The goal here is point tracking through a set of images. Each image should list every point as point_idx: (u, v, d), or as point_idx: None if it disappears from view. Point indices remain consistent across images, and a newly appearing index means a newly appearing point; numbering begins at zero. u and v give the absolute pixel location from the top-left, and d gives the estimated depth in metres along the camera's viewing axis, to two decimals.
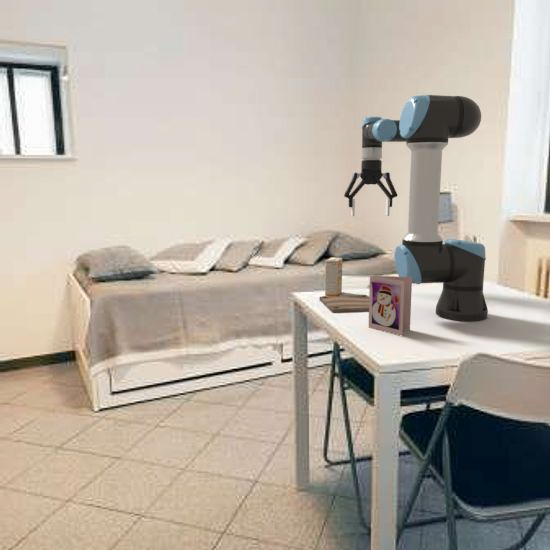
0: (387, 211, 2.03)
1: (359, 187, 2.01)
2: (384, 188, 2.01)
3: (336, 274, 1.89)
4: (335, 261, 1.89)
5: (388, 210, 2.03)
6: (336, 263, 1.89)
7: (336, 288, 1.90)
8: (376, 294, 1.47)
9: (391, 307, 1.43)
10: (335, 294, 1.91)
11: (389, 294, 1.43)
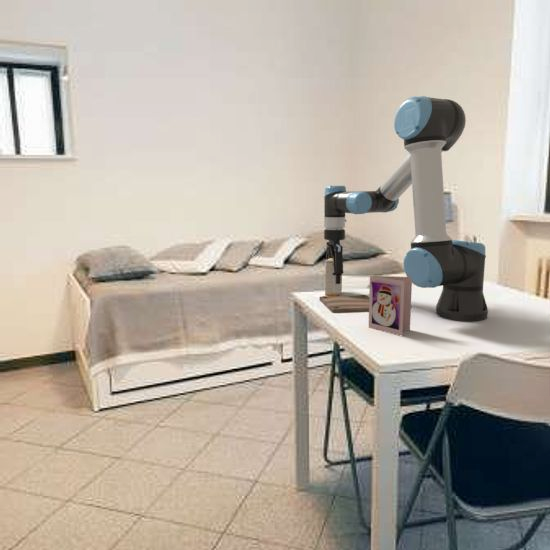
0: None
1: (328, 257, 1.96)
2: None
3: None
4: None
5: (333, 286, 1.90)
6: None
7: None
8: (376, 294, 1.47)
9: (391, 307, 1.43)
10: (335, 294, 1.91)
11: (389, 294, 1.43)
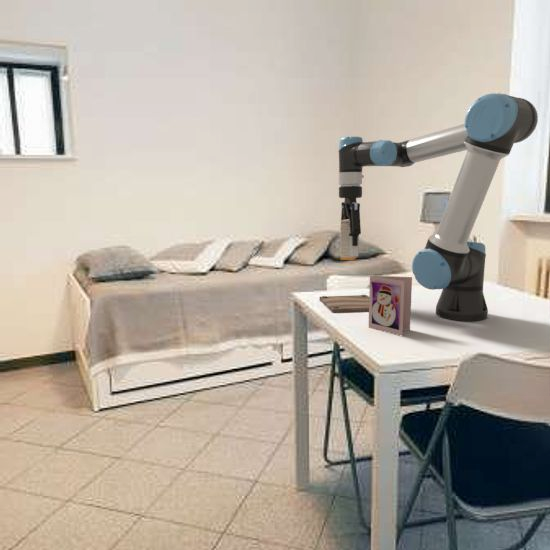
0: None
1: (343, 219, 1.78)
2: None
3: None
4: None
5: (350, 249, 1.71)
6: None
7: None
8: (376, 294, 1.47)
9: (391, 307, 1.43)
10: (352, 258, 1.72)
11: (389, 294, 1.43)
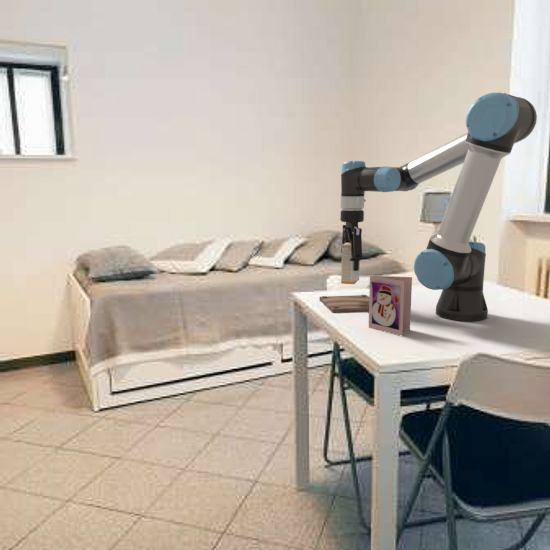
0: None
1: (344, 242, 1.77)
2: (351, 246, 1.70)
3: None
4: None
5: (351, 274, 1.70)
6: None
7: None
8: (376, 294, 1.47)
9: (391, 307, 1.43)
10: (352, 282, 1.72)
11: (389, 294, 1.43)
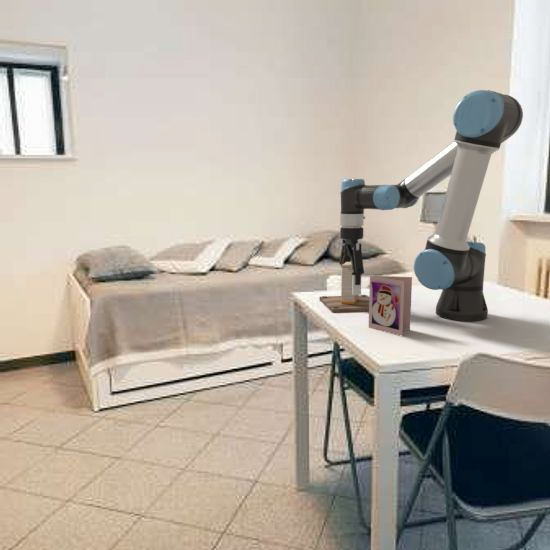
0: (352, 289, 1.70)
1: (343, 256, 1.79)
2: (352, 261, 1.70)
3: None
4: None
5: (352, 288, 1.69)
6: None
7: (353, 295, 1.72)
8: (376, 294, 1.47)
9: (391, 307, 1.43)
10: (352, 302, 1.73)
11: (389, 294, 1.43)
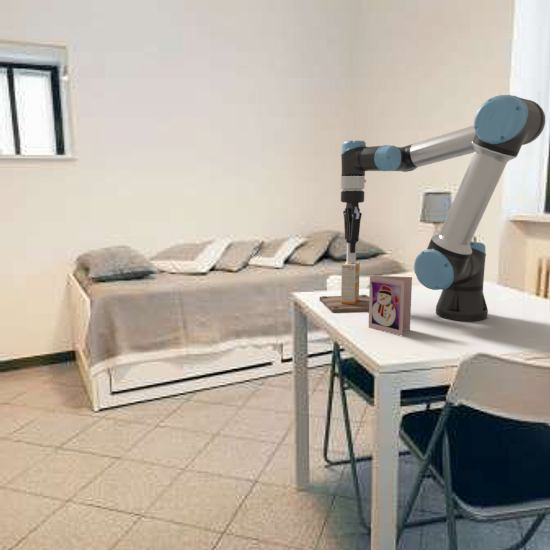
0: (347, 257, 1.74)
1: (347, 225, 1.74)
2: (349, 228, 1.71)
3: (353, 280, 1.71)
4: (352, 266, 1.71)
5: (347, 256, 1.74)
6: (353, 268, 1.71)
7: (353, 295, 1.72)
8: (376, 294, 1.47)
9: (391, 307, 1.43)
10: (352, 302, 1.73)
11: (389, 294, 1.43)
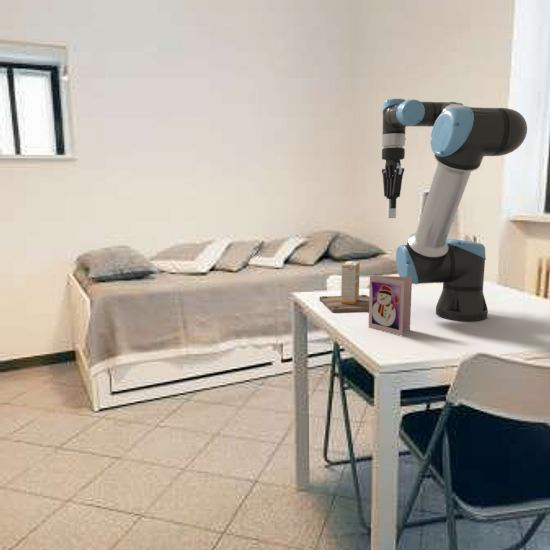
0: (387, 213, 1.81)
1: (387, 182, 1.81)
2: (390, 184, 1.78)
3: (353, 280, 1.71)
4: (352, 266, 1.71)
5: (388, 212, 1.81)
6: (353, 268, 1.71)
7: (353, 295, 1.72)
8: (376, 294, 1.47)
9: (391, 307, 1.43)
10: (352, 302, 1.73)
11: (389, 294, 1.43)
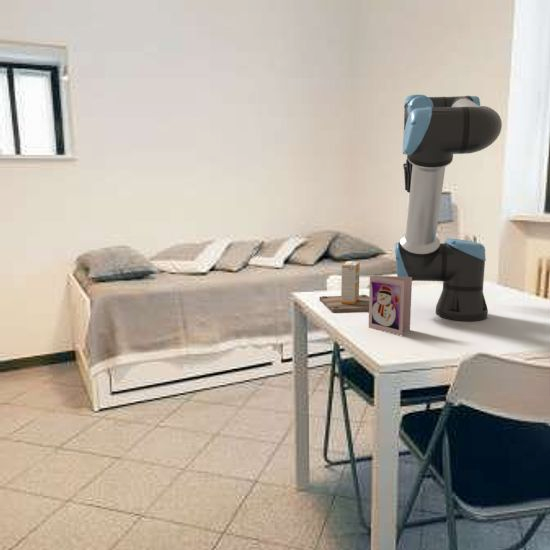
0: (408, 206, 1.86)
1: (408, 176, 1.86)
2: (411, 178, 1.83)
3: (353, 280, 1.71)
4: (352, 266, 1.71)
5: (408, 205, 1.86)
6: (353, 268, 1.71)
7: (353, 295, 1.72)
8: (376, 294, 1.47)
9: (391, 307, 1.43)
10: (352, 302, 1.73)
11: (389, 294, 1.43)
